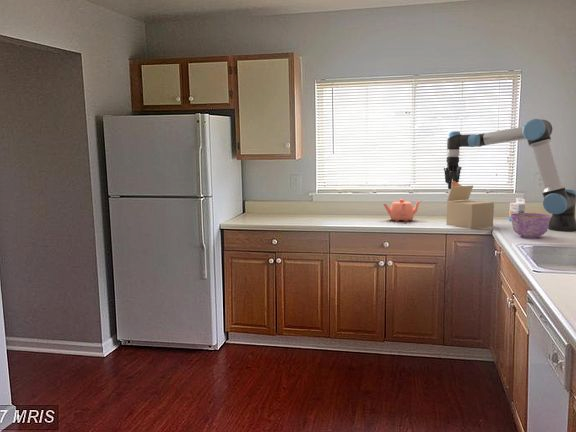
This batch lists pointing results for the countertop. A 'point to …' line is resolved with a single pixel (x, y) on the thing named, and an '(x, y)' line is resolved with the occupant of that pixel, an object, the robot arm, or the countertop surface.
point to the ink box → (517, 207)
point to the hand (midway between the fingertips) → (451, 193)
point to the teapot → (402, 210)
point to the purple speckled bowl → (530, 224)
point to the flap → (459, 192)
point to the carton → (470, 214)
